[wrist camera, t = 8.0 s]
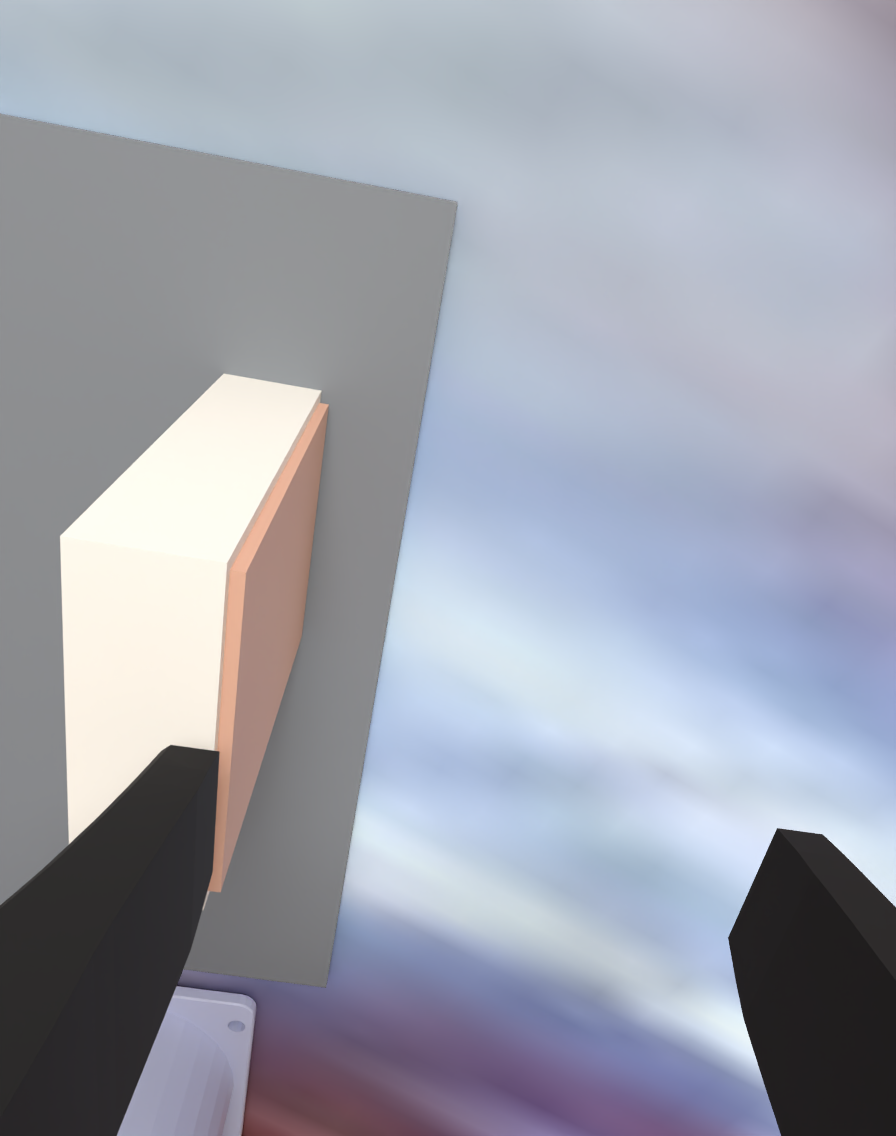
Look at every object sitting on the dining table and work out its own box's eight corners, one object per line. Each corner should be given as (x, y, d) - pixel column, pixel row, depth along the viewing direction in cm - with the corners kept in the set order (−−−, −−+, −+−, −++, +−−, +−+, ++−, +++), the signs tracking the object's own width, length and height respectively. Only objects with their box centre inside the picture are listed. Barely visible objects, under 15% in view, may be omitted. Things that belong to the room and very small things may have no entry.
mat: (327, 976, 26) (325, 987, 26) (-149, 914, 25) (-157, 925, 25) (457, 201, 16) (457, 203, 16) (-311, 53, 15) (-329, 51, 15)
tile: (302, 639, 20) (216, 912, 13) (208, 624, 20) (70, 892, 13) (331, 392, 18) (243, 565, 10) (223, 373, 17) (60, 535, 10)
